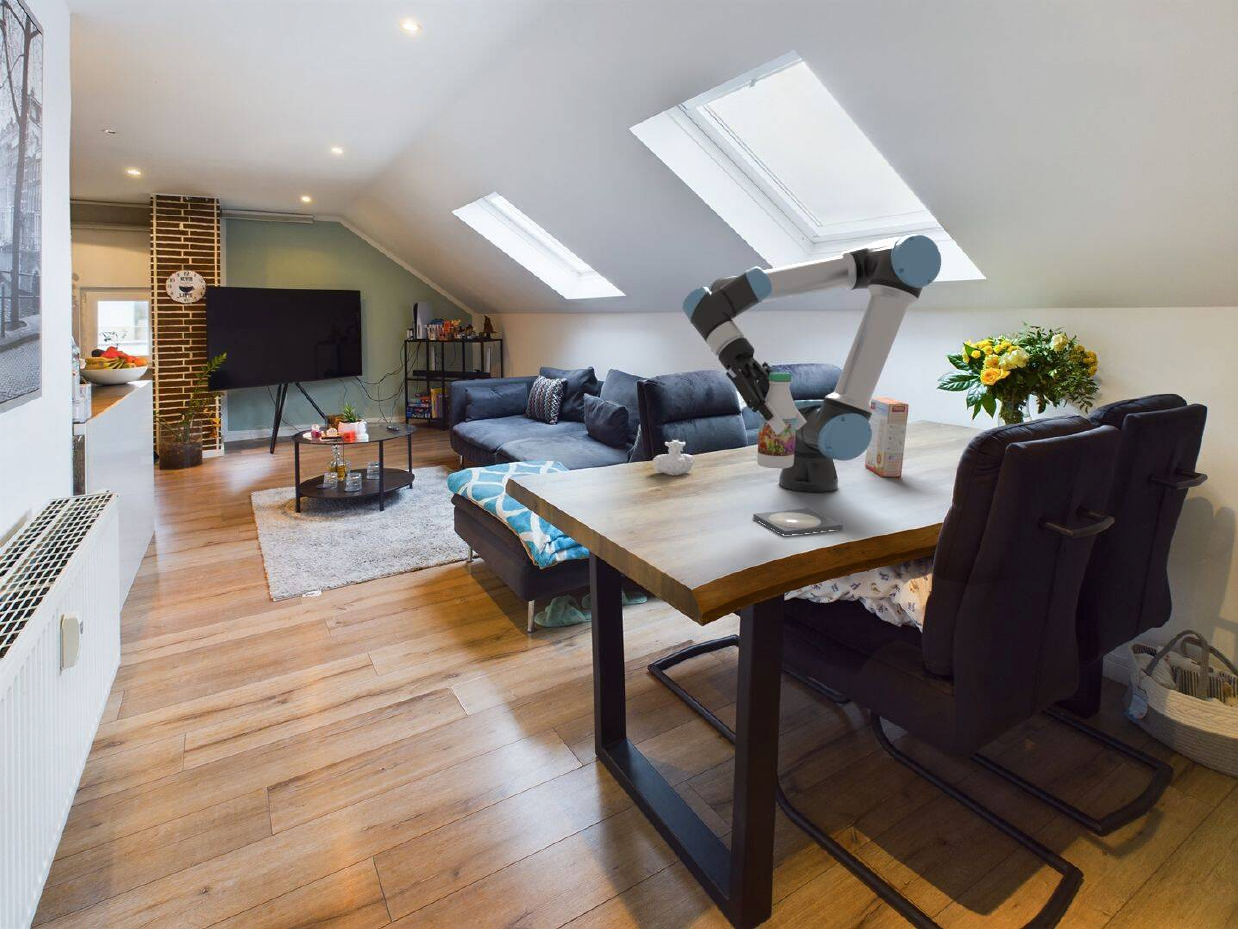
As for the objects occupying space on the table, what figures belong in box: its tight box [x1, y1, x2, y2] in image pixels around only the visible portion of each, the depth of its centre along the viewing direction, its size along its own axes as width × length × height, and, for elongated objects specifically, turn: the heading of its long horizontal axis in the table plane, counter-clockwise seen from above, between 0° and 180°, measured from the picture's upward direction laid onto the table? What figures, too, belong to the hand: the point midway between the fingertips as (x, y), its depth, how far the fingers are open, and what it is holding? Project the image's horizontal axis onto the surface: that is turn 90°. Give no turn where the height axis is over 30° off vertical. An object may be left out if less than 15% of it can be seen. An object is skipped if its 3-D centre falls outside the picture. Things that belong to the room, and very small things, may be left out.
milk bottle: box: [756, 371, 796, 469], centre depth 145 cm, size 8×8×20 cm
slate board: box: [752, 507, 844, 535], centre depth 148 cm, size 14×13×1 cm
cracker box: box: [864, 397, 910, 478], centre depth 195 cm, size 14×6×21 cm, turn 179°
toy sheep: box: [652, 439, 696, 476], centre depth 192 cm, size 12×8×11 cm
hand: (792, 428), depth 143 cm, fingers closed on milk bottle, 7 cm apart
